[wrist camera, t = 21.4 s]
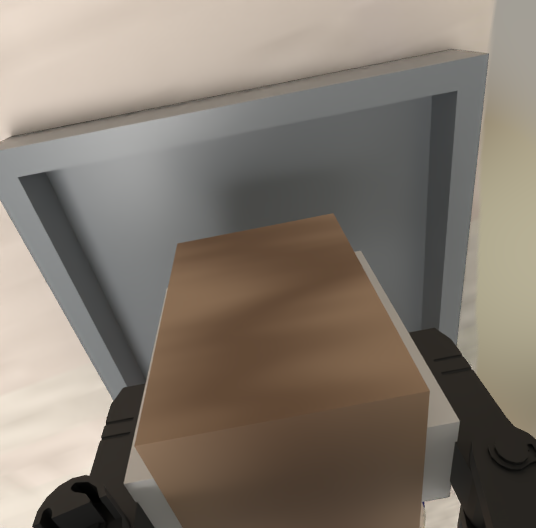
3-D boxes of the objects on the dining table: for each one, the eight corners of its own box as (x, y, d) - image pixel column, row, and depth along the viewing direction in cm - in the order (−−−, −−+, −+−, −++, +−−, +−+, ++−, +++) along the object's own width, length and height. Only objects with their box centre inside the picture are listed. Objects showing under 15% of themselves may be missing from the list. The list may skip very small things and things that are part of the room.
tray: (426, 425, 28) (443, 459, 26) (179, 472, 29) (175, 510, 26) (451, 49, 16) (488, 53, 14) (9, 137, 16) (-26, 155, 14)
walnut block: (332, 213, 13) (429, 391, 7) (343, 330, 15) (418, 532, 9) (177, 243, 13) (134, 446, 7) (214, 355, 15) (208, 571, 9)
